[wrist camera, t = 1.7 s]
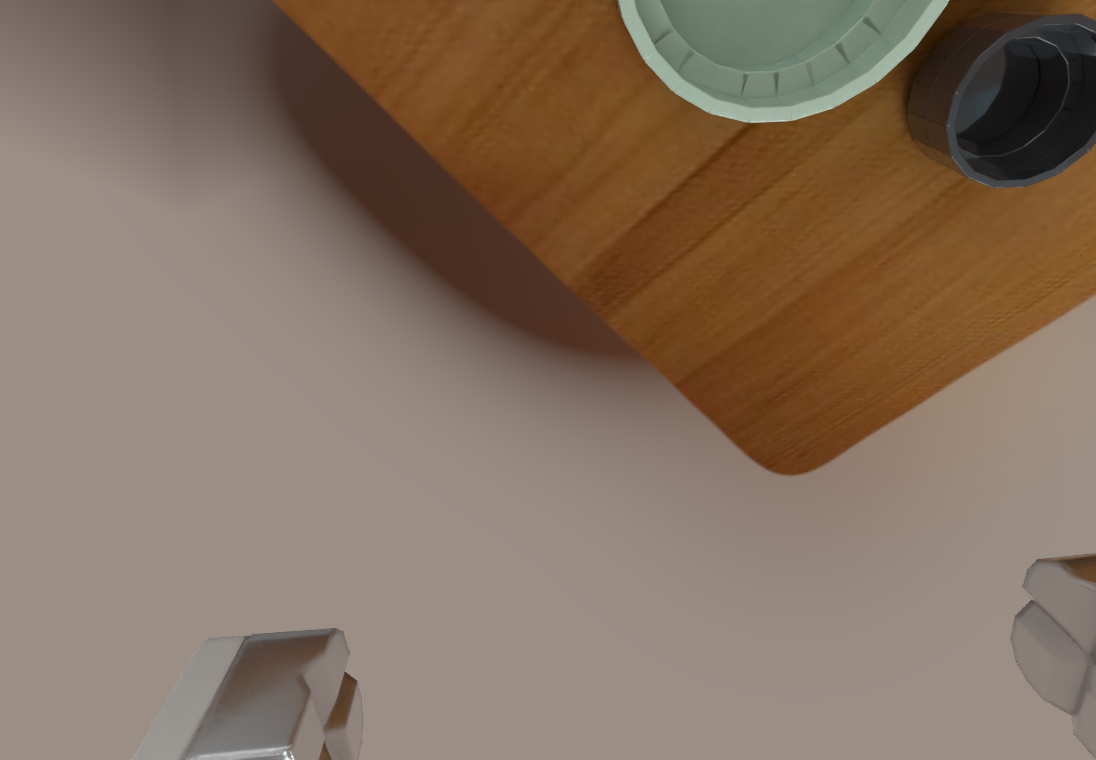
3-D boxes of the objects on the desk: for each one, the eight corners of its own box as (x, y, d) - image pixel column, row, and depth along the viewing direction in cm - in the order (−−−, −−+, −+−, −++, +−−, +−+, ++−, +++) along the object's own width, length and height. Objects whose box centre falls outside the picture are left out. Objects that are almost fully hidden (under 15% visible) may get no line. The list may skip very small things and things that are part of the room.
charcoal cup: (1008, -26, 28) (1075, -28, 24) (1083, 86, 30) (1156, 101, 26) (874, 95, 31) (915, 111, 27) (951, 190, 33) (999, 218, 29)
